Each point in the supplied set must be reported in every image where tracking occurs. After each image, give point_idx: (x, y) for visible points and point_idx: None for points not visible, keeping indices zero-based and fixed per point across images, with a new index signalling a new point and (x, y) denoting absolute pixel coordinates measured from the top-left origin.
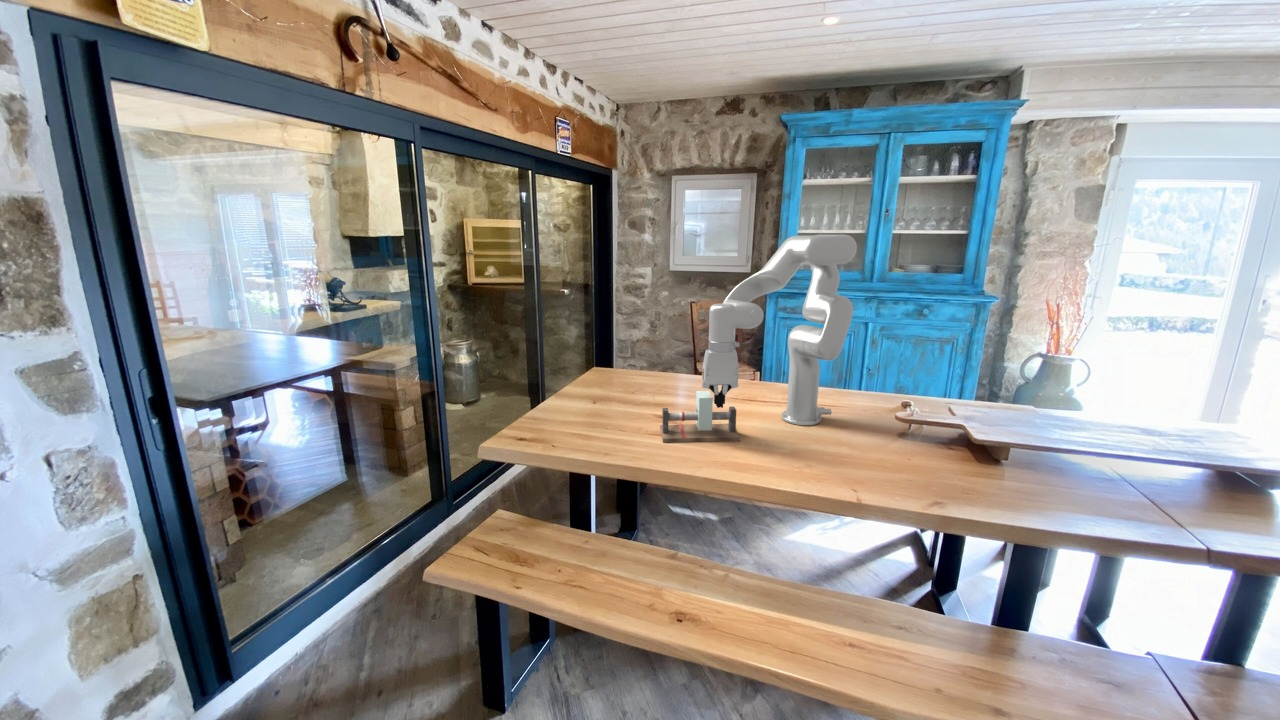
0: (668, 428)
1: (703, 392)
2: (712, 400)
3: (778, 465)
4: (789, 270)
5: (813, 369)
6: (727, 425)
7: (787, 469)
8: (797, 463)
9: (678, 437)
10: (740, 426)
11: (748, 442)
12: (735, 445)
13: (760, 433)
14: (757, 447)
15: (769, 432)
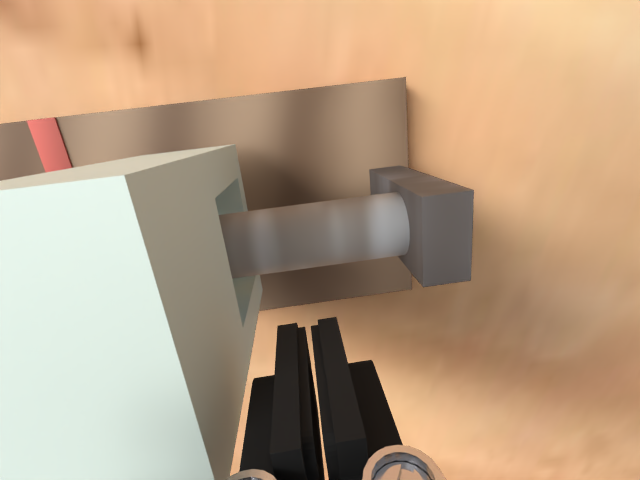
0: None
1: (28, 290)
2: (227, 472)
3: (498, 456)
4: None
5: None
6: (370, 115)
7: (517, 476)
8: (568, 436)
9: None
10: (455, 50)
11: None
12: (377, 320)
13: (538, 162)
14: (470, 330)
15: (591, 144)
